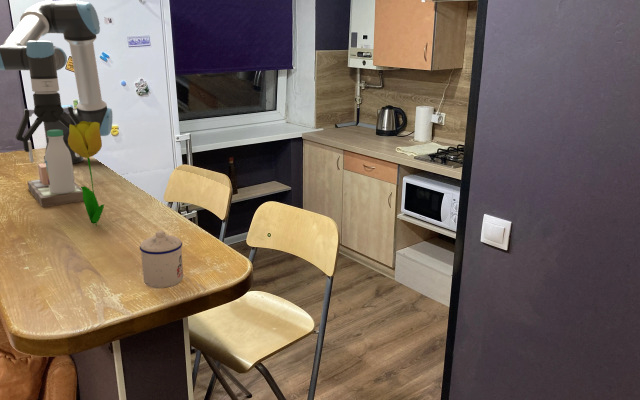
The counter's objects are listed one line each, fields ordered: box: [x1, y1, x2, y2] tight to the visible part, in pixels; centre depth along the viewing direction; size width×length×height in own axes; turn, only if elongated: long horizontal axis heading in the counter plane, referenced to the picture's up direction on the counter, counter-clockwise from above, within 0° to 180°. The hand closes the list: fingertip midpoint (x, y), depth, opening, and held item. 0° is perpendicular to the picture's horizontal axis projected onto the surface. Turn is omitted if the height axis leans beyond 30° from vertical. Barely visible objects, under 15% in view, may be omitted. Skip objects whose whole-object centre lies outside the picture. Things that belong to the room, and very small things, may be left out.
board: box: [27, 179, 84, 208], centre depth 181 cm, size 24×13×3 cm, turn 37°
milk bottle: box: [44, 130, 76, 194], centre depth 171 cm, size 8×8×20 cm
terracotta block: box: [37, 163, 48, 185], centre depth 184 cm, size 6×6×6 cm
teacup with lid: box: [139, 230, 184, 289], centre depth 120 cm, size 12×9×12 cm
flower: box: [68, 121, 105, 226], centre depth 149 cm, size 9×8×30 cm
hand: (55, 159), depth 173 cm, fingers open, 13 cm apart
